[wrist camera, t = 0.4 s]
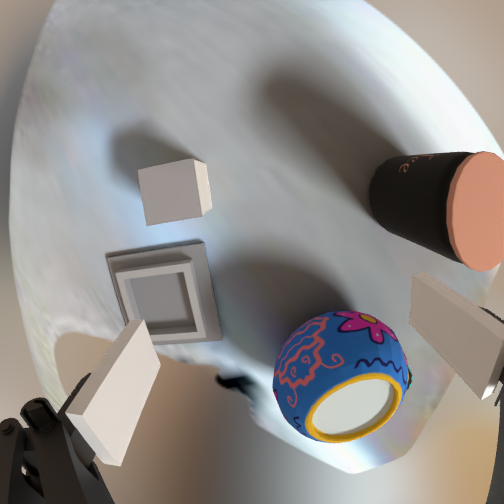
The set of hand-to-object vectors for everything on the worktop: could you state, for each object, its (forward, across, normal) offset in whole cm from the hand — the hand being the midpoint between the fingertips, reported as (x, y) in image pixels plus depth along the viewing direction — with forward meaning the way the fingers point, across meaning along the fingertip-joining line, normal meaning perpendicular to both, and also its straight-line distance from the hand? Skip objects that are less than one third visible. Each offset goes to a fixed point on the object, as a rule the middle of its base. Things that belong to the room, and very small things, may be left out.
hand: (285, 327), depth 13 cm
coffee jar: (+24, +20, +2) cm, 31 cm away
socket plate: (+24, -14, -7) cm, 29 cm away
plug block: (+24, -8, +7) cm, 26 cm away
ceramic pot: (+24, +7, -19) cm, 31 cm away
